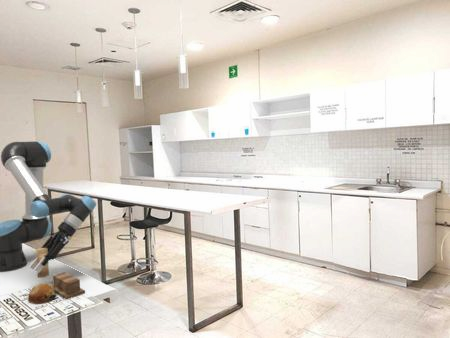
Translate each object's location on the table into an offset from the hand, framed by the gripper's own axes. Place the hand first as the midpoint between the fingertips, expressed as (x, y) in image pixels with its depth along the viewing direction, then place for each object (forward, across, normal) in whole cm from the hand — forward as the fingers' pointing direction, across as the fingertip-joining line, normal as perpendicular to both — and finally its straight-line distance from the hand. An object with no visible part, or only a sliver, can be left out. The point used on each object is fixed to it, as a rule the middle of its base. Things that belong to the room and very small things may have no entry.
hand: (33, 269), depth 151 cm
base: (0, -14, -11) cm, 18 cm away
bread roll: (+7, -14, -5) cm, 16 cm away
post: (0, 0, -5) cm, 5 cm away
